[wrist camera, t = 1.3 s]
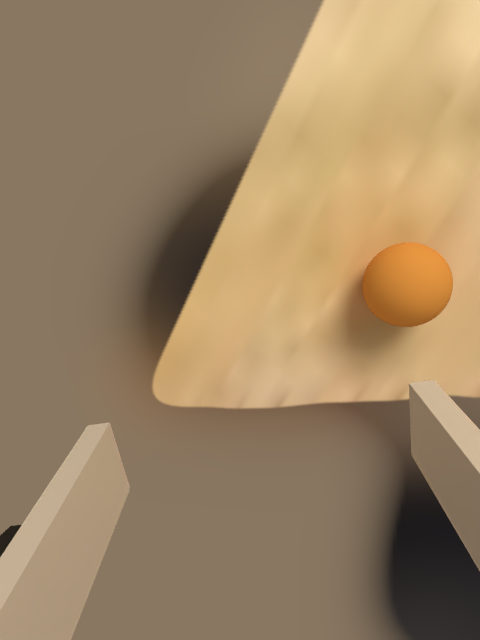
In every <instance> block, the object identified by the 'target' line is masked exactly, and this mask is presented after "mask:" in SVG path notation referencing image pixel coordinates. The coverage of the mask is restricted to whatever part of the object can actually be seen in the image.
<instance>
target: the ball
mask: <svg viewBox="0 0 480 640" xmlns="http://www.w3.org/2000/svg"><path fill="white" fill-rule="evenodd" d="M362 288H363V295H364V299H365V301H366V303H367V305H368V307H369V308H370V310H371V311H372V312H373V313H374V314H375V315H376V316H377V317H378V318H380V319H381V320H383V321H384V322H386V323H389V324H392V325H395V326H401V327H412V326H417V325H421V324H424V323H426V322H428V321H430V320H432V319H433V318H435V317H436V316H437V315H439V314H440V313H441V312H442V310H443V309H444V308H445V307H446V305H447V303H448V302H449V299H450V297H451V293H452V288H453V278H452V273H451V270H450V268H449V266H448V264H447V262H446V261H445V259H444V258H443V257H442V256H441V255H440V254H439V253H438V252H436V251H435V250H433V249H431V248H430V247H428V246H425V245H422V244H417V243H401V244H396V245H393V246H390V247H388V248H386V249H384V250H383V251H381V252H380V253H379V254H377V255H376V256H375V257H374V258H373V260H372V261H371V262H370V263H369V265H368V267H367V269H366V271H365V274H364V277H363V284H362Z"/></svg>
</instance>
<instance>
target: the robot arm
mask: <svg viewBox="0 0 480 640" xmlns="http://www.w3.org/2000/svg"><path fill="white" fill-rule="evenodd" d="M409 396H410V422H411V423H410V424H411V451H412V456H413V458H414V460H415V461H416V463H417V465H418V467H419V468H420V470H421V472H422V473H423V475H424V477H425V479H426V480H427V482H428V484H429V485H430V487H431V489H432V491H433V492H434V494H435V495H436V497H437V499H438V501H439V503H440V504H441V506H442V508H443V509H444V511H445V513H446V514H447V516H448V518H449V519H450V521H451V523H452V525H453V526H454V528H455V530H456V531H457V533H458V535H459V536H460V538H461V540H462V542H463V543H464V545H465V547H466V549H467V550H468V552H469V554H470V555H471V557H472V559H473V560H474V562H475V564H476V566H477V567H478V569H479V571H480V430H479V429H478V428H477V427H476V425H475V424H474V423H473V422H472V421H471V420H470V419H469V418H468V417H467V416H466V414H464V412H463V411H462V410H461V409H460V408H459V407H458V406H457V405H456V404H455V403H454V401H453V400H452V399H451V398H450V397H449V396H448V395H447V394H446V393H445V392H444V391H443V389H442V388H441V387H440V386H439V385H438V384H437V383H436V382H435V381H434V380H428V381H421V382H413V383H409ZM129 490H130V487H129V484H128V480H127V477H126V474H125V471H124V468H123V464H122V461H121V458H120V455H119V451H118V448H117V445H116V442H115V438H114V435H113V432H112V429H111V425H110V423H103V424H96V425H88V426H87V428H86V429H85V431H84V432H83V434H82V435H81V437H80V438H79V440H78V441H77V443H76V444H75V446H74V447H73V449H72V450H71V452H70V453H69V455H68V456H67V458H66V460H65V461H64V462H63V464H62V465H61V467H60V469H59V470H58V472H57V473H56V474H55V476H54V477H53V479H52V480H51V482H50V483H49V485H48V487H47V488H46V489H45V491H44V492H43V494H42V495H41V497H40V498H39V500H38V501H37V503H36V504H35V506H34V507H33V509H32V510H31V512H30V513H29V515H28V517H27V518H26V520H25V521H24V523H23V524H22V525H16V526H10V527H9V528H8V529H7V530H6V531H5V532H4V533H3V534H1V536H0V640H71V638H72V635H73V633H74V630H75V628H76V625H77V623H78V620H79V617H80V615H81V612H82V610H83V607H84V604H85V602H86V600H87V597H88V595H89V592H90V590H91V587H92V584H93V582H94V579H95V577H96V574H97V571H98V569H99V566H100V564H101V561H102V559H103V556H104V554H105V551H106V549H107V546H108V544H109V541H110V538H111V536H112V533H113V530H114V528H115V526H116V523H117V520H118V518H119V515H120V513H121V510H122V508H123V505H124V502H125V500H126V497H127V495H128V492H129Z"/></svg>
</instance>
